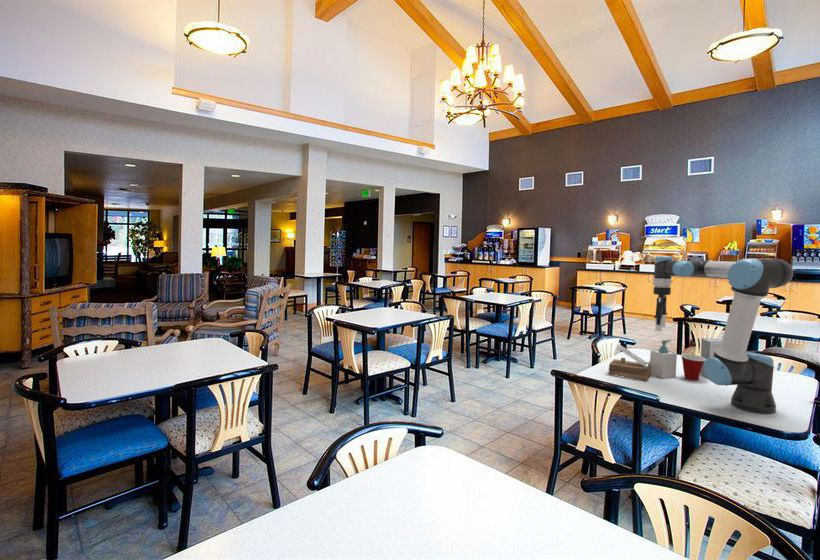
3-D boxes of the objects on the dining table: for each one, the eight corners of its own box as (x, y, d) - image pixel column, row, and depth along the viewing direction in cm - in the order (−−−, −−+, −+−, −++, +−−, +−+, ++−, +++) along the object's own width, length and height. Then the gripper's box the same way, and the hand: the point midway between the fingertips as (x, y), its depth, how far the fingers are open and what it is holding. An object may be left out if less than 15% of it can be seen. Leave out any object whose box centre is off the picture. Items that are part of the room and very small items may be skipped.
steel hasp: (646, 368, 223) (648, 366, 222) (616, 348, 231) (618, 346, 230) (648, 365, 227) (649, 363, 227) (619, 346, 235) (620, 344, 235)
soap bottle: (676, 377, 227) (677, 341, 226) (662, 378, 225) (664, 342, 223) (662, 372, 235) (664, 337, 234) (649, 373, 233) (650, 338, 231)
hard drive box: (730, 375, 230) (732, 338, 228) (739, 380, 222) (742, 341, 221) (699, 374, 231) (701, 337, 230) (707, 379, 224) (709, 341, 222)
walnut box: (647, 381, 220) (647, 364, 219) (608, 374, 231) (609, 358, 230) (651, 375, 230) (651, 359, 229) (613, 369, 241) (614, 354, 240)
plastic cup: (700, 383, 216) (701, 360, 215) (676, 378, 225) (677, 355, 224) (707, 379, 223) (709, 356, 222) (684, 374, 231) (685, 352, 230)
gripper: (667, 289, 207) (665, 333, 209) (673, 285, 226) (671, 326, 228) (649, 288, 212) (647, 332, 213) (657, 284, 231) (655, 324, 232)
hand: (660, 329), depth 221 cm, fingers open, 12 cm apart
